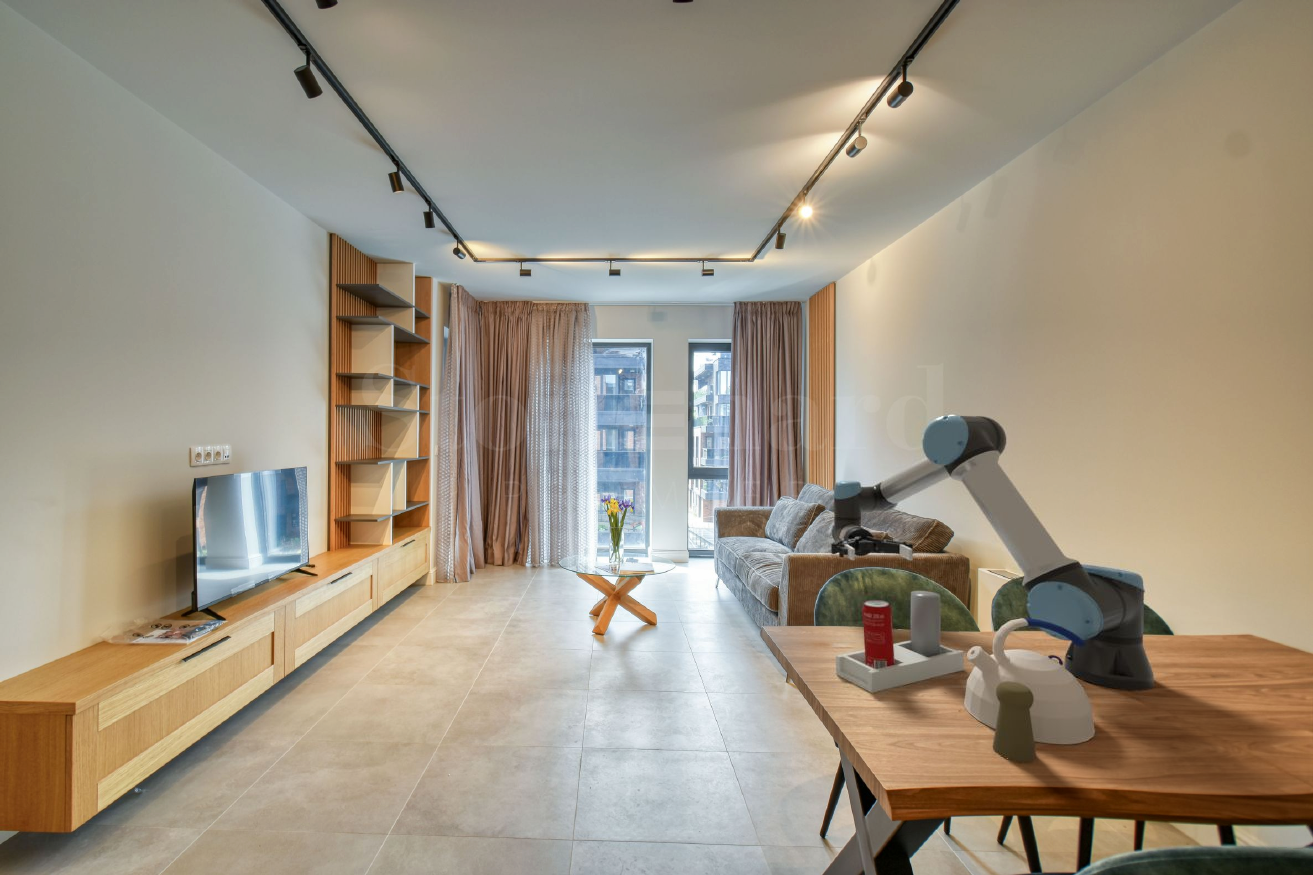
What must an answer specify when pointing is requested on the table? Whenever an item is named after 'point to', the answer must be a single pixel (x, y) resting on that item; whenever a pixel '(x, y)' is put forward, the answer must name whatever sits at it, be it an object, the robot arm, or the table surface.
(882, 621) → the beverage can
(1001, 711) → the cork
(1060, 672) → the kettle
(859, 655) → the can rail
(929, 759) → the table surface
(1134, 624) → the robot arm
